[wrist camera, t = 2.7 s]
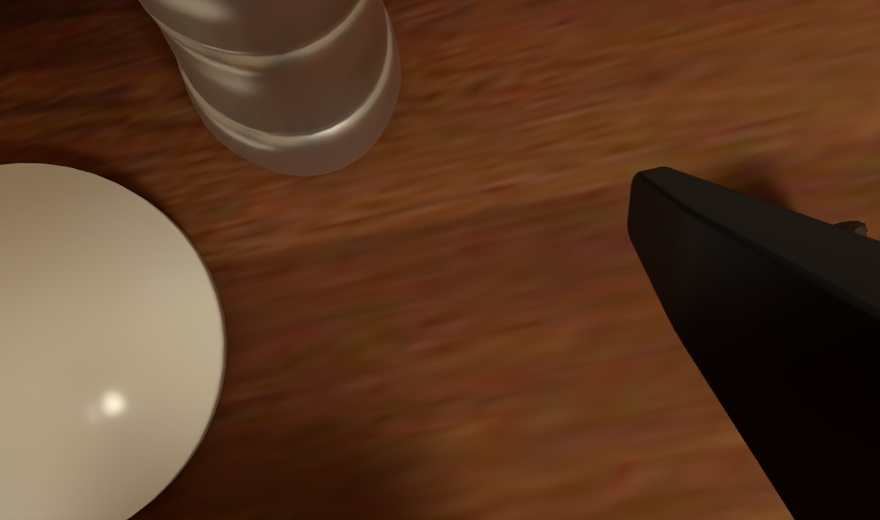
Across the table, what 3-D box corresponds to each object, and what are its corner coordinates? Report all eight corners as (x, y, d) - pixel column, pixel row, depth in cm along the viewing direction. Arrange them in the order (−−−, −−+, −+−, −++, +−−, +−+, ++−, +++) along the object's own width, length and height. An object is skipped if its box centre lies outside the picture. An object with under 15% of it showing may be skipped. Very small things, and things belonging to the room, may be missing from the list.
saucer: (144, 601, 20) (131, 614, 19) (-238, 480, 20) (-271, 487, 19) (280, 241, 22) (275, 236, 21) (-69, 120, 21) (-91, 109, 20)
